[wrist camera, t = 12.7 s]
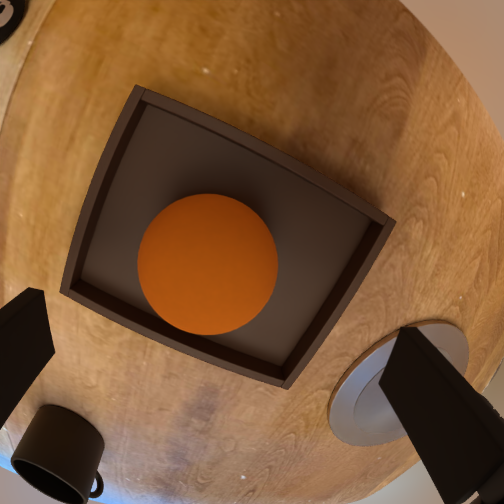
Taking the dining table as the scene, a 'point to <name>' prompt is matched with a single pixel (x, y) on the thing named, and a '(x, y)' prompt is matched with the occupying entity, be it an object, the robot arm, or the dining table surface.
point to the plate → (371, 395)
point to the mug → (60, 456)
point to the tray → (245, 191)
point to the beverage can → (10, 16)
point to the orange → (207, 264)
